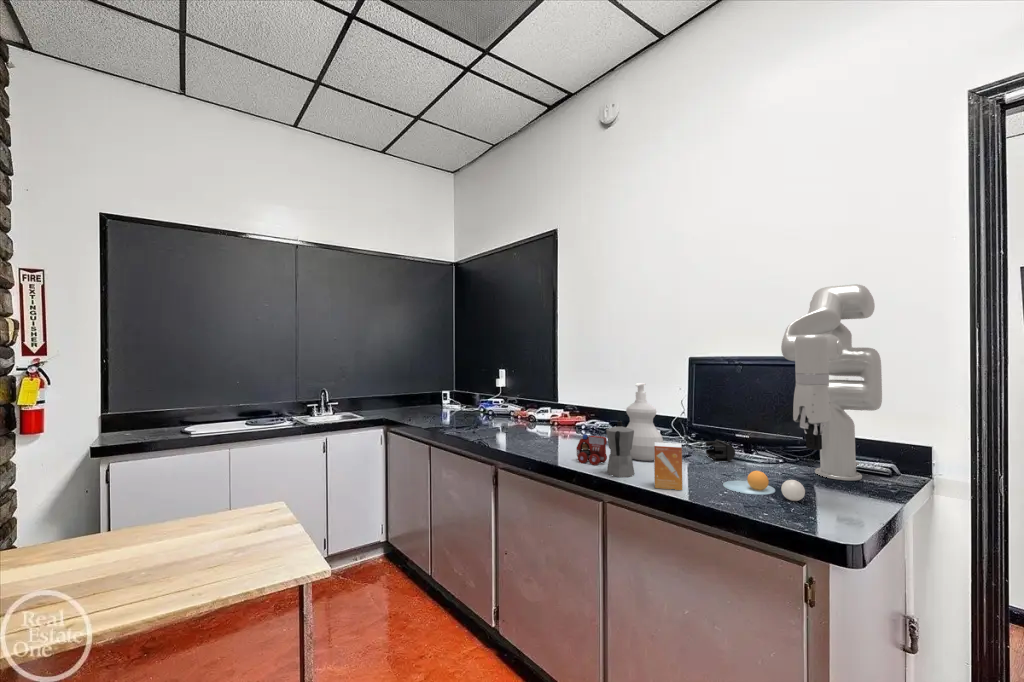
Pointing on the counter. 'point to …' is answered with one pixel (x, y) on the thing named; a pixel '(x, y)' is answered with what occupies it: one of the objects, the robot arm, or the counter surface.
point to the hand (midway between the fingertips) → (814, 448)
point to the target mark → (747, 488)
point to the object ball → (757, 480)
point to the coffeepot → (620, 451)
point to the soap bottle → (642, 427)
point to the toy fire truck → (592, 449)
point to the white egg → (793, 490)
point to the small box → (668, 465)
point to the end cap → (720, 451)
